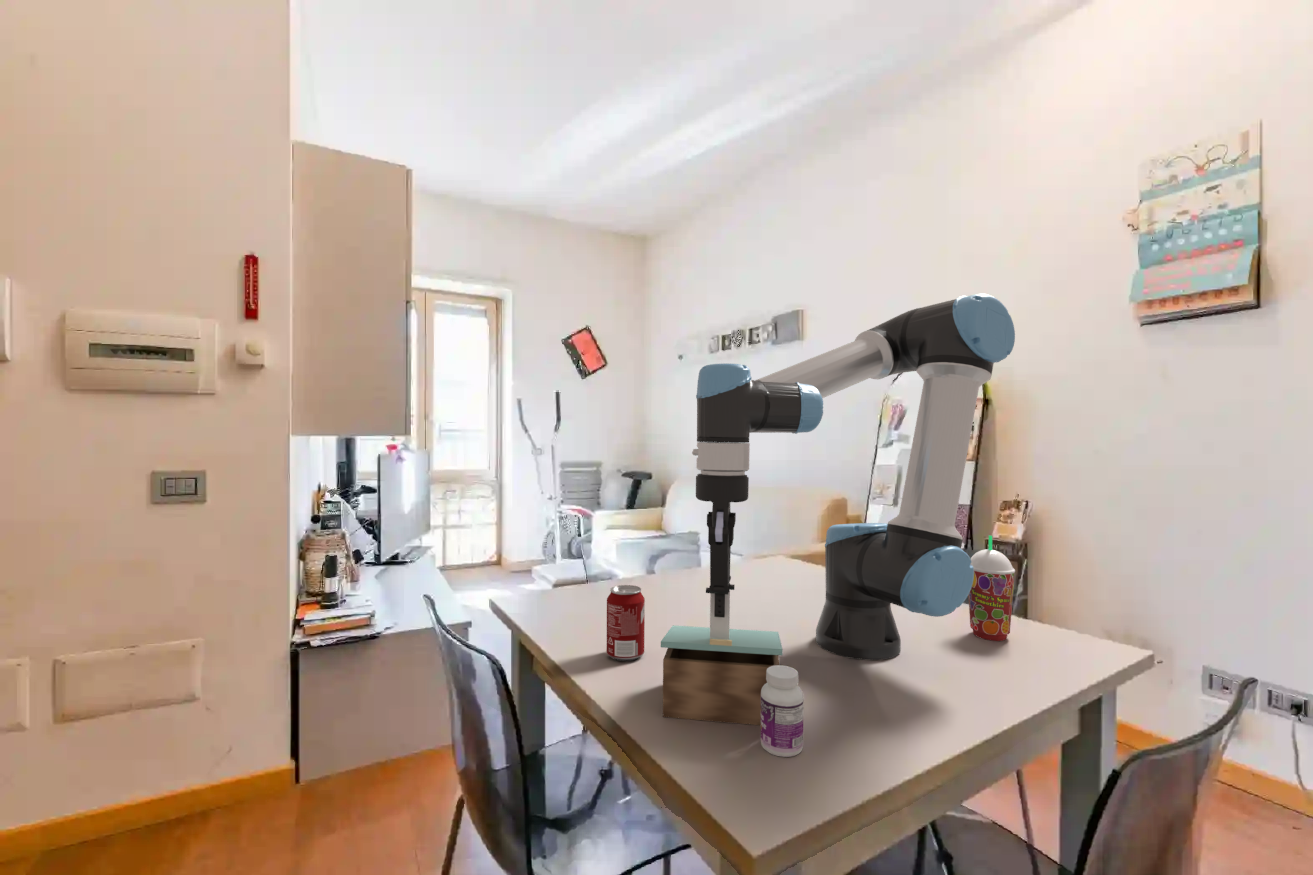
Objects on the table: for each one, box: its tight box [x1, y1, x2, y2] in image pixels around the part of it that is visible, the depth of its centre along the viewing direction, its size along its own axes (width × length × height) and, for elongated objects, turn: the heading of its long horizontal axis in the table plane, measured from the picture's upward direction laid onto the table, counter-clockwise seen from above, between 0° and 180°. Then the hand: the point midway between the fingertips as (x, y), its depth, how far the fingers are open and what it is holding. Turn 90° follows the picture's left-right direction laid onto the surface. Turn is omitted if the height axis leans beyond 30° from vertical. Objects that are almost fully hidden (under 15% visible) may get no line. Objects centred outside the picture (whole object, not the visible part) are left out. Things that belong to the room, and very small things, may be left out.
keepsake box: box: [662, 648, 780, 726], centre depth 85 cm, size 16×12×8 cm
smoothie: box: [967, 535, 1016, 642], centre depth 114 cm, size 8×8×20 cm
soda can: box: [605, 584, 646, 662], centre depth 103 cm, size 7×7×12 cm
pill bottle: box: [760, 664, 805, 758], centre depth 73 cm, size 5×5×10 cm
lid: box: [660, 625, 784, 656], centre depth 85 cm, size 17×13×1 cm
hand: (719, 636), depth 82 cm, fingers closed
